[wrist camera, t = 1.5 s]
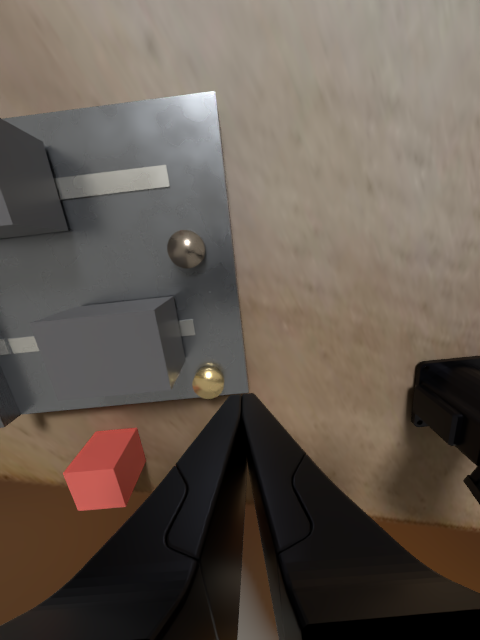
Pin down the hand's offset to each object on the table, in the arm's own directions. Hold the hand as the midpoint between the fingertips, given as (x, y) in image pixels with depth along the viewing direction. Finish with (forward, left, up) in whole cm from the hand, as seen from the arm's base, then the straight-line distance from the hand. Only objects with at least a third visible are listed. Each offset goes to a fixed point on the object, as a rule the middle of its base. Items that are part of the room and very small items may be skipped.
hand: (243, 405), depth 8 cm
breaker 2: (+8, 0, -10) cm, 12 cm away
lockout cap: (+13, +12, -12) cm, 21 cm away
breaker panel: (+10, -4, -12) cm, 16 cm away
